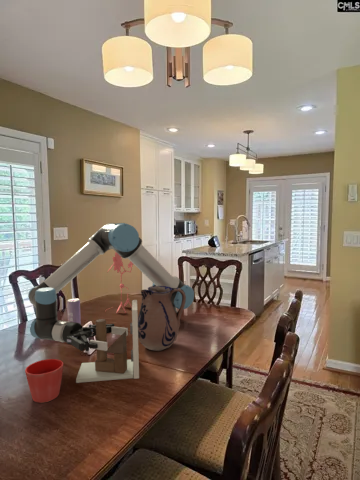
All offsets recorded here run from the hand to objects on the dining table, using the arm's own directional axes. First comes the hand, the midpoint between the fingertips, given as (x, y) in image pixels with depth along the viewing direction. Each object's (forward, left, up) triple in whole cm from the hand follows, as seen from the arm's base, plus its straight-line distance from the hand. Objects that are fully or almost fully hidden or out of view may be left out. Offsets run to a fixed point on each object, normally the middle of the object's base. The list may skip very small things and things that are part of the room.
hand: (117, 338), depth 113 cm
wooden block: (+3, -1, -12) cm, 12 cm away
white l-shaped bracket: (+3, -2, -13) cm, 13 cm away
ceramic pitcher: (-17, -22, -13) cm, 30 cm away
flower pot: (+22, +10, -13) cm, 27 cm away
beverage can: (+24, -49, -13) cm, 56 cm away
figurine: (+4, -78, -13) cm, 79 cm away
